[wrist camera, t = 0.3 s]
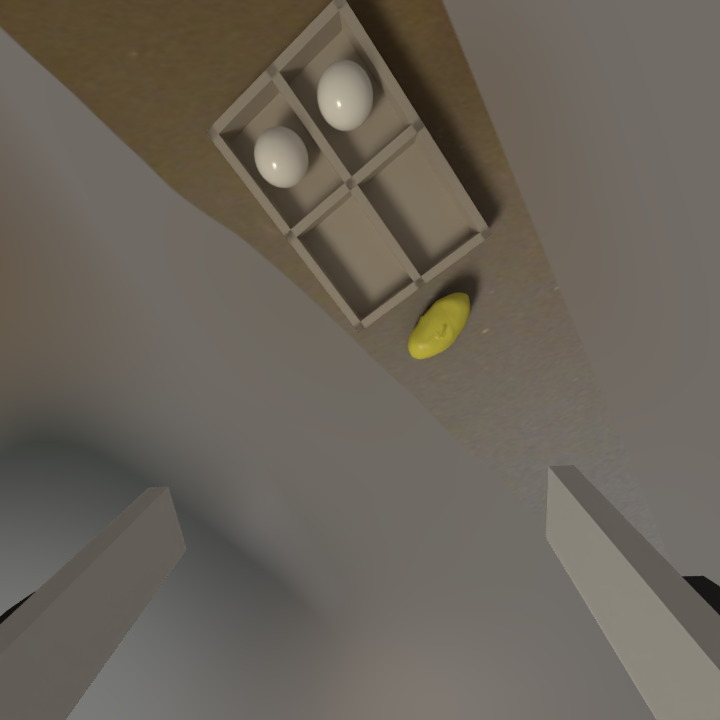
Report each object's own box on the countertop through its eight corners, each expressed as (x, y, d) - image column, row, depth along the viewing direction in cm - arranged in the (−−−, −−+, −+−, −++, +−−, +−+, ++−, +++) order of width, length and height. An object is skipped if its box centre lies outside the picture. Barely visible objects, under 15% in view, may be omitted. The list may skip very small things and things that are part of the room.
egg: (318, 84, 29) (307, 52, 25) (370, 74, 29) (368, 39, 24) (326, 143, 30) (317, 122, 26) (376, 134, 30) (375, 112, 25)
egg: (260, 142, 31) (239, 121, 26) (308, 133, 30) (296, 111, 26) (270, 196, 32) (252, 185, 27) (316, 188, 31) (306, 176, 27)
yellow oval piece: (395, 337, 36) (397, 346, 32) (450, 281, 34) (458, 283, 30) (423, 363, 36) (428, 374, 32) (479, 309, 34) (490, 314, 30)
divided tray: (220, 143, 31) (205, 132, 29) (344, 18, 28) (340, -8, 25) (360, 327, 35) (358, 332, 33) (483, 236, 32) (492, 234, 29)
